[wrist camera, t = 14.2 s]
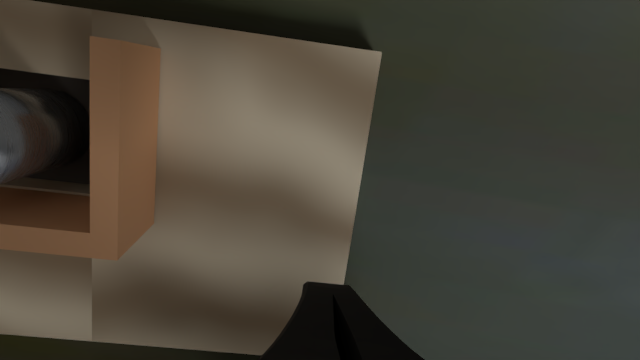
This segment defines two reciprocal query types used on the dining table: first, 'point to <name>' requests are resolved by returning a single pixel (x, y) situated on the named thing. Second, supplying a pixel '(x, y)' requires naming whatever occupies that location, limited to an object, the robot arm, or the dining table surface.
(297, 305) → the robot arm
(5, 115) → the peg
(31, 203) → the light brown open box
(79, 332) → the board
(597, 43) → the dining table surface
